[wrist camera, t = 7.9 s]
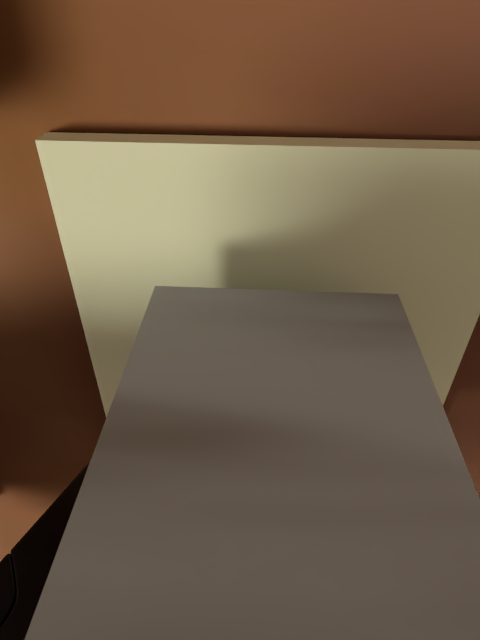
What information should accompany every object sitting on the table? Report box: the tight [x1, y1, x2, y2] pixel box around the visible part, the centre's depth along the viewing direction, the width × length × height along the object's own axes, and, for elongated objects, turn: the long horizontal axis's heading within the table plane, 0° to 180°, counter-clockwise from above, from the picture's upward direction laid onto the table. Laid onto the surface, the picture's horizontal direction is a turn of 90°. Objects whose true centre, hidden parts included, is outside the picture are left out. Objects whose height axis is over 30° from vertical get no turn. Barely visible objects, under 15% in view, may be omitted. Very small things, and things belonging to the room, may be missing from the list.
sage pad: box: [35, 132, 480, 418], centre depth 12 cm, size 10×10×1 cm
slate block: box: [25, 286, 480, 640], centre depth 8 cm, size 5×5×7 cm
